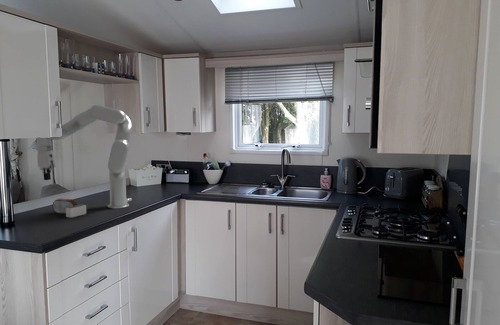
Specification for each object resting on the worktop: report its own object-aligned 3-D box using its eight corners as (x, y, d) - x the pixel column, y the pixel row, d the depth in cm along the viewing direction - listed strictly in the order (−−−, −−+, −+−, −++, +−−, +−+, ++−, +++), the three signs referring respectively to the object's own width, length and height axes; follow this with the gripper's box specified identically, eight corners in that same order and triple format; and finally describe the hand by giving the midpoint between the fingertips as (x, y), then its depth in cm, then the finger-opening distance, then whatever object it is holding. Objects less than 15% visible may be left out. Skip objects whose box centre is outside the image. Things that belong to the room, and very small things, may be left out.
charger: (81, 212, 212) (81, 203, 211) (86, 213, 210) (85, 204, 209) (66, 216, 203) (65, 207, 202) (71, 217, 201) (70, 208, 200)
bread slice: (78, 213, 210) (77, 199, 209) (74, 215, 207) (73, 200, 206) (56, 212, 214) (55, 198, 213) (52, 213, 211) (51, 199, 210)
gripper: (59, 148, 213) (61, 179, 215) (42, 148, 220) (45, 178, 222) (47, 149, 206) (49, 181, 209) (30, 149, 213) (33, 180, 215)
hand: (47, 179), depth 215 cm, fingers closed
